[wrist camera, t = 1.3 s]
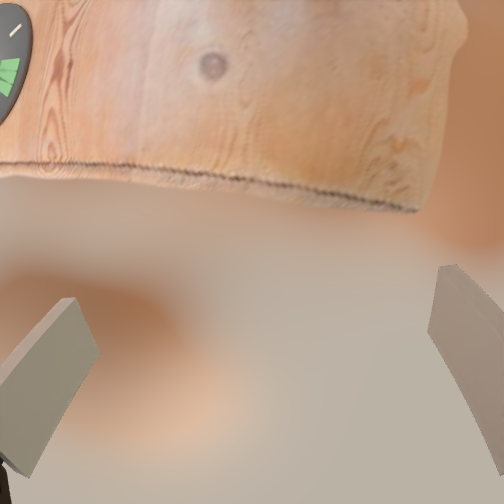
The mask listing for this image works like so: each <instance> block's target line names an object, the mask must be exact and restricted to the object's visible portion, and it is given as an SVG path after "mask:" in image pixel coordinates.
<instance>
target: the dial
mask: <svg viewBox="0 0 504 504" xmlns="http://www.w3.org/2000/svg"><path fill="white" fill-rule="evenodd" d="M31 50H32V26H31V21H30V18H29V16H28V14H27V12H26V11H25V10H24V9H23V8H22V7H20V6H18V5H15V4H11V3H3V4H0V124H1V123H2V122H3V120H4V119H5V118H6V117H7V115H8V114H9V112H10V111H11V109H12V107H13V105H14V103H15V102H16V100H17V97H18V95H19V93H20V91H21V88H22V85H23V83H24V80H25V77H26V74H27V70H28V66H29V62H30V56H31Z"/></svg>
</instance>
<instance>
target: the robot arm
mask: <svg viewBox="0 0 504 504" xmlns="http://www.w3.org/2000/svg"><path fill="white" fill-rule="evenodd" d="M428 334H429V335H430V337H431V339H432V340H433V342H434V344H435V345H436V347H437V349H438V351H439V352H440V354H441V356H442V357H443V359H444V361H445V363H446V365H447V366H448V368H449V370H450V372H451V374H452V375H453V377H454V379H455V381H456V383H457V384H458V387H459V388H460V390H461V392H462V394H463V396H464V398H465V400H466V402H467V404H468V405H469V408H470V410H471V412H472V414H473V416H474V418H475V420H476V422H477V424H478V426H479V428H480V431H481V433H482V435H483V437H484V439H485V441H486V444H487V446H488V448H489V450H490V453H491V455H492V457H493V460H494V462H495V464H496V467H497V470H498V472H499V475H500V476H501V475H503V474H504V312H503V311H502V310H501V309H500V307H499V306H498V305H497V304H496V303H495V302H494V301H493V300H492V299H491V298H490V297H489V296H488V295H487V294H486V293H485V292H484V291H483V290H482V289H481V288H480V287H479V286H478V285H477V284H476V283H475V282H474V281H473V280H472V279H471V278H470V277H469V276H468V275H467V274H466V273H465V272H464V271H463V270H462V269H461V268H460V267H459V266H458V265H457V264H455V265H448V266H441V267H439V269H438V276H437V283H436V289H435V296H434V301H433V306H432V312H431V318H430V322H429V327H428ZM99 355H100V351H99V349H98V347H97V345H96V343H95V341H94V338H93V336H92V334H91V332H90V330H89V327H88V325H87V323H86V320H85V318H84V316H83V314H82V311H81V309H80V306H79V304H78V301H77V299H76V298H62V299H61V300H60V301H59V302H58V303H57V304H56V305H55V306H54V307H53V308H52V309H51V310H50V311H49V312H48V313H47V314H46V315H45V316H44V317H43V319H42V320H41V321H40V322H39V323H38V324H37V325H36V326H35V327H34V328H33V329H32V330H31V332H30V333H29V334H28V335H27V336H26V337H25V338H24V339H23V340H22V341H21V343H20V344H19V345H18V346H17V347H16V348H15V349H14V351H13V352H12V353H11V354H10V355H9V356H8V358H7V359H6V360H5V361H4V362H3V364H2V365H1V366H0V504H12V503H11V497H10V492H9V485H8V478H7V472H6V470H5V468H4V467H3V466H2V463H3V461H4V462H6V463H7V464H8V465H9V466H10V467H11V468H12V469H13V470H14V471H15V472H17V473H19V474H21V475H23V476H25V477H27V478H30V476H31V474H32V472H33V470H34V468H35V466H36V464H37V462H38V460H39V458H40V457H41V455H42V453H43V451H44V449H45V447H46V445H47V443H48V442H49V440H50V438H51V436H52V434H53V432H54V431H55V429H56V427H57V425H58V423H59V422H60V420H61V418H62V416H63V415H64V413H65V411H66V409H67V408H68V406H69V404H70V403H71V401H72V399H73V398H74V396H75V394H76V392H77V391H78V389H79V387H80V386H81V384H82V382H83V381H84V379H85V378H86V376H87V374H88V373H89V371H90V369H91V368H92V366H93V365H94V363H95V361H96V360H97V358H98V357H99Z"/></svg>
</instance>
